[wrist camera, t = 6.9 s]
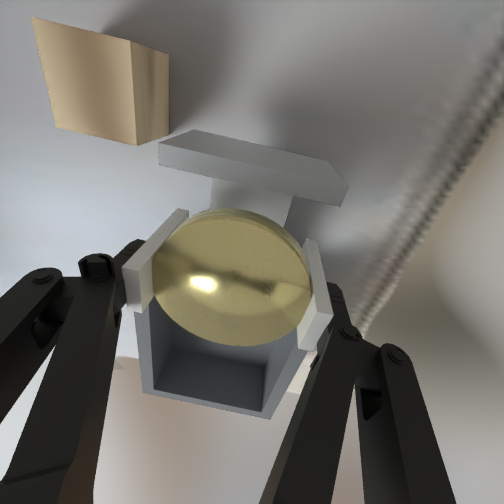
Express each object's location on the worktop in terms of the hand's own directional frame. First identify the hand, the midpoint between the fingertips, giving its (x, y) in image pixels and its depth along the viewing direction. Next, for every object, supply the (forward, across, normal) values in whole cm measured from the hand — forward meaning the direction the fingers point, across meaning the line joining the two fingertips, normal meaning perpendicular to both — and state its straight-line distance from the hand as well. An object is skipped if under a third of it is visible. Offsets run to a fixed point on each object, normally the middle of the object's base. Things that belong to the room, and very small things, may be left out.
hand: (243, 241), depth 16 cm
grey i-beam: (+3, 0, -1) cm, 3 cm away
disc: (-4, 0, 0) cm, 4 cm away
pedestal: (+6, -10, +7) cm, 14 cm away
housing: (+6, 0, -12) cm, 14 cm away
